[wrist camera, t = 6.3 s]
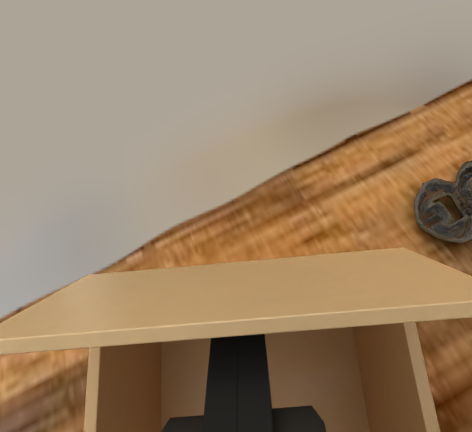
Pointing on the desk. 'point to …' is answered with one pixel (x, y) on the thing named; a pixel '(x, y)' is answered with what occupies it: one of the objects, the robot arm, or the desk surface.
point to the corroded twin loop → (435, 213)
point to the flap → (241, 300)
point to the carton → (271, 380)
